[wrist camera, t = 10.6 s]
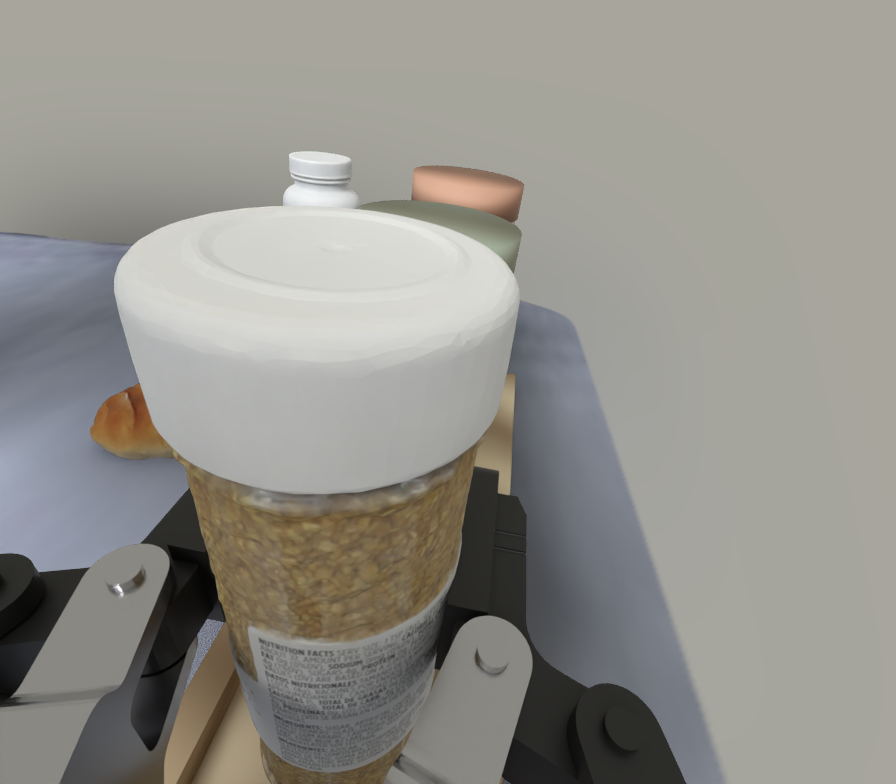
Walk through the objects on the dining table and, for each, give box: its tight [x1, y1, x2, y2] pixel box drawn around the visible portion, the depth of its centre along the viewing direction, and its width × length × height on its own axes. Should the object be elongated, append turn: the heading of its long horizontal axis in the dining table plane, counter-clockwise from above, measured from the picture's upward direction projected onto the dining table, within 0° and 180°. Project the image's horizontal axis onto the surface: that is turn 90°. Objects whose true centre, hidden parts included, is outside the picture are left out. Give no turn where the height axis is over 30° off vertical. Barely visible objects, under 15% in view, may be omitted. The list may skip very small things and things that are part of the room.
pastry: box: [90, 383, 175, 460], centre depth 24 cm, size 9×7×4 cm
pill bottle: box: [283, 151, 361, 209], centre depth 38 cm, size 6×6×11 cm
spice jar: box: [114, 206, 520, 784], centre depth 9 cm, size 5×5×14 cm
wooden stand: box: [164, 166, 524, 784], centre depth 17 cm, size 26×9×14 cm, turn 171°
